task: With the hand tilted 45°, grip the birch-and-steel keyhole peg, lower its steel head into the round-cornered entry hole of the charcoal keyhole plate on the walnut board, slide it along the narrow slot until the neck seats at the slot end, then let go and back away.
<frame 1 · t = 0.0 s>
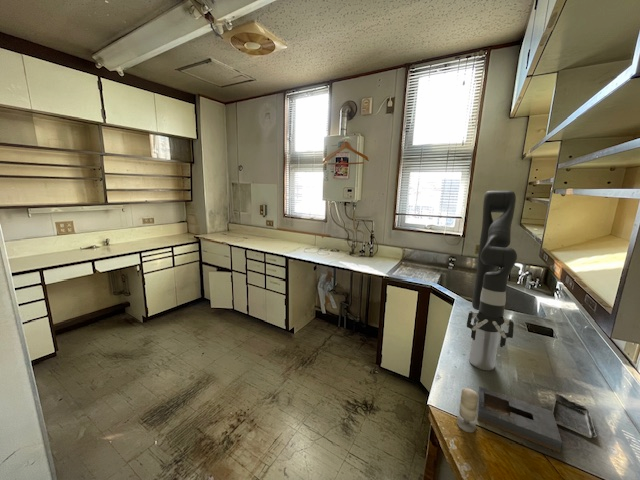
hand: (487, 342, 95), 17 cm above the worktop, tool pointing down, fingers open, 8 cm apart
keyhole board: (513, 420, 82), on the worktop
rectangular frame: (571, 419, 83), on the worktop
keyhole peg: (465, 424, 81), on the worktop
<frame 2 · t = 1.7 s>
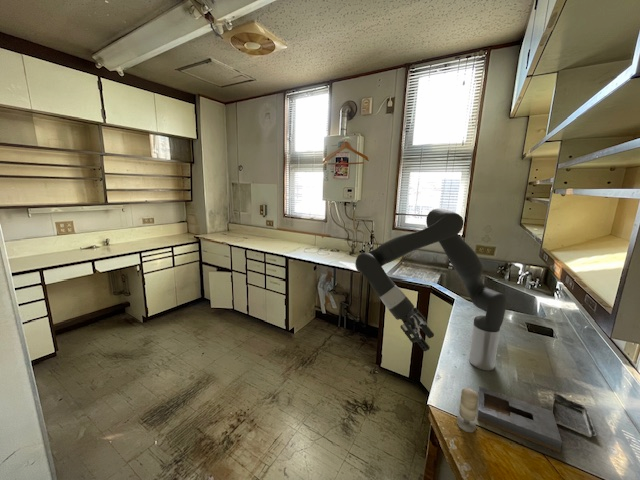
hand: (429, 343, 83), 24 cm above the worktop, tool tilted 45°, fingers open, 8 cm apart
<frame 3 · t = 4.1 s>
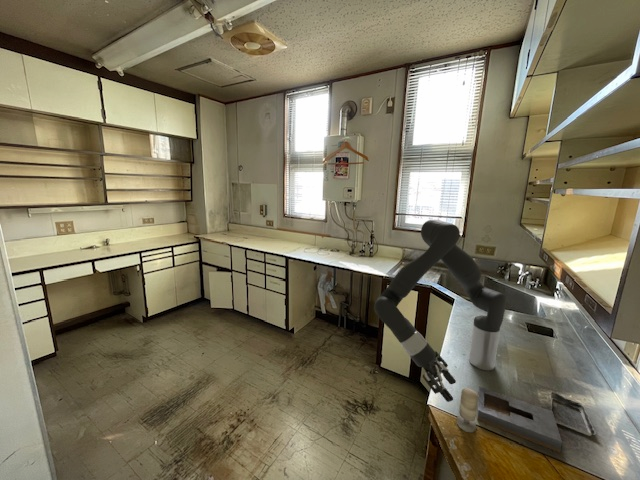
hand: (452, 391, 82), 10 cm above the worktop, tool tilted 45°, fingers open, 8 cm apart
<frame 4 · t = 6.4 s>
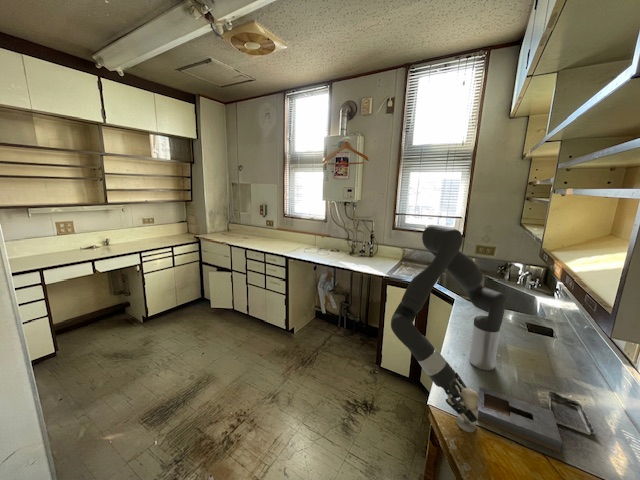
hand: (474, 414, 79), 5 cm above the worktop, tool tilted 45°, fingers closed on keyhole peg, 4 cm apart
keyhole peg: (466, 424, 81), on the worktop, touching gripper
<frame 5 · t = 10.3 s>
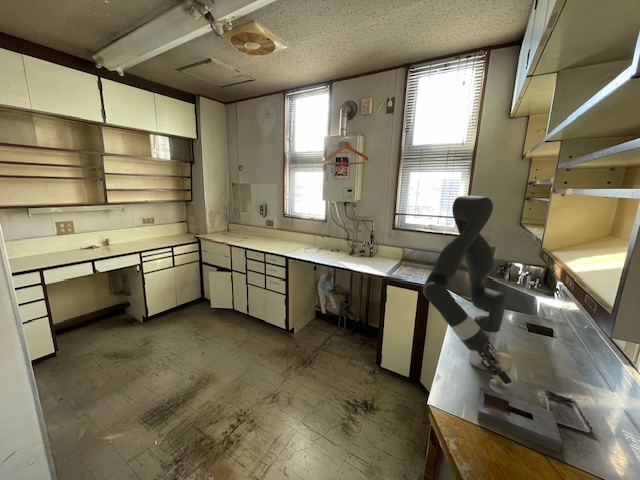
hand: (507, 377, 81), 14 cm above the worktop, tool tilted 45°, fingers closed on keyhole peg, 4 cm apart
keyhole peg: (498, 387, 83), point 10 cm above the worktop, touching gripper
when the fingers open (6 cm above the worktop, at t = 14.2 s): keyhole peg stays where it is, resting on keyhole board.
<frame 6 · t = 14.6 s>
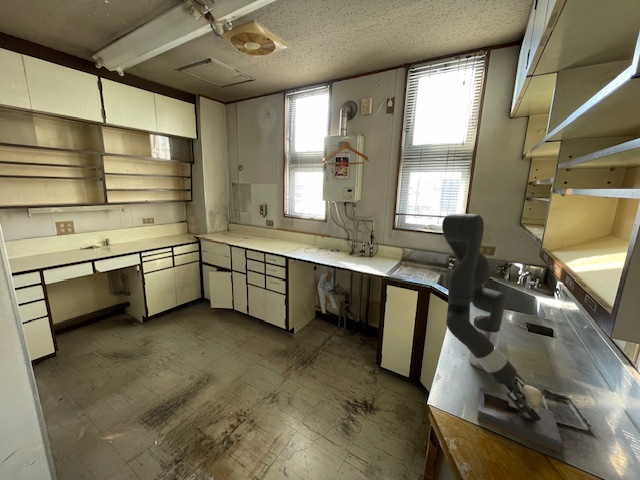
hand: (535, 409, 79), 6 cm above the worktop, tool tilted 45°, fingers open, 8 cm apart
keyhole peg: (526, 422, 81), point 1 cm above the worktop, touching keyhole board
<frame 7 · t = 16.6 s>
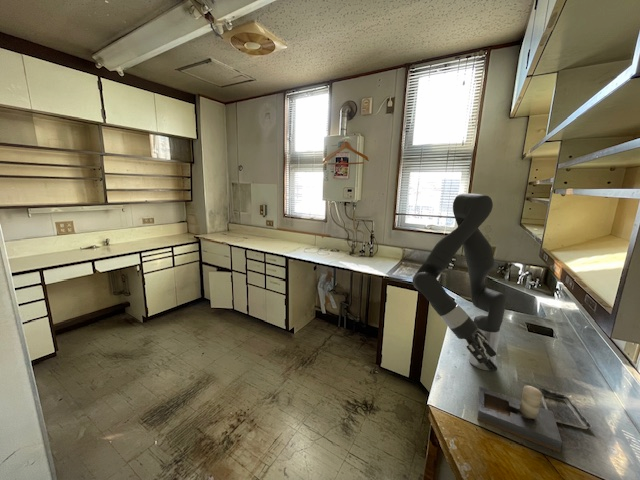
hand: (494, 362, 83), 18 cm above the worktop, tool tilted 45°, fingers open, 8 cm apart
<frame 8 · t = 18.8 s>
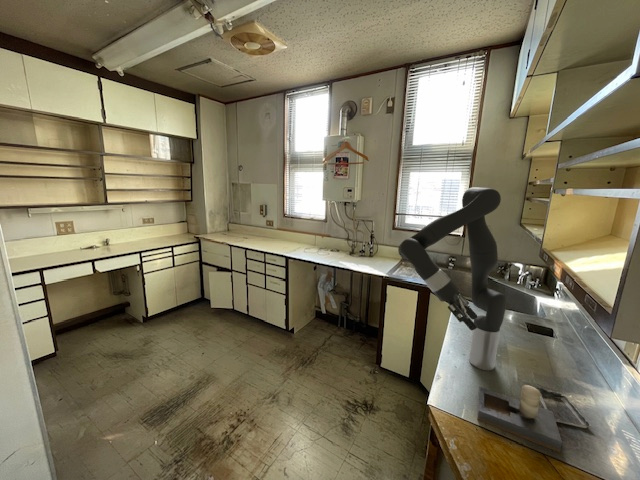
hand: (474, 323, 87), 29 cm above the worktop, tool tilted 45°, fingers open, 8 cm apart
at the end: keyhole peg 0.4 cm from the target spot on the keyhole board, point 1.1 cm above the keyhole board's base; keyhole peg tilted 1°; the gripper is holding nothing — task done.
